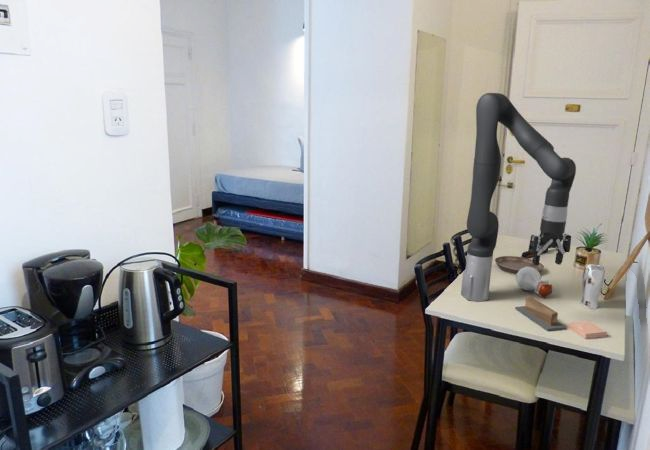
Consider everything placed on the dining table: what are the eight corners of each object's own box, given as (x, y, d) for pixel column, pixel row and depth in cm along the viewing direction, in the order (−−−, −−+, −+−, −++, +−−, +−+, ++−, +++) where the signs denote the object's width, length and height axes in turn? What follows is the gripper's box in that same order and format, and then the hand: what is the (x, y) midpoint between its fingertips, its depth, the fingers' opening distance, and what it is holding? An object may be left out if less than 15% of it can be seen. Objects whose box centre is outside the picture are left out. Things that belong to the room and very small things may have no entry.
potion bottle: (519, 287, 205) (545, 305, 192) (506, 276, 201) (531, 294, 187) (534, 269, 204) (560, 286, 191) (520, 258, 200) (547, 275, 186)
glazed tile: (567, 328, 166) (585, 340, 159) (568, 323, 166) (586, 333, 158) (587, 326, 168) (606, 337, 161) (588, 321, 168) (607, 331, 160)
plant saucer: (532, 262, 233) (533, 256, 232) (551, 278, 213) (552, 271, 212) (488, 261, 233) (489, 254, 233) (502, 277, 213) (503, 269, 213)
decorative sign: (551, 249, 255) (554, 230, 253) (555, 250, 253) (558, 231, 251) (521, 258, 239) (523, 238, 237) (525, 259, 238) (528, 239, 235)
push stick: (550, 325, 165) (552, 313, 164) (524, 308, 179) (526, 297, 178) (556, 325, 166) (557, 313, 165) (530, 308, 179) (531, 296, 178)
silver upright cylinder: (580, 300, 190) (586, 262, 186) (601, 305, 186) (607, 266, 182) (576, 305, 185) (582, 267, 181) (597, 310, 180) (603, 271, 177)
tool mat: (547, 331, 163) (547, 328, 163) (515, 308, 180) (515, 306, 180) (565, 329, 165) (566, 327, 165) (532, 307, 182) (532, 305, 182)
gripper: (542, 221, 160) (535, 269, 165) (580, 220, 164) (572, 267, 168) (528, 216, 168) (521, 261, 172) (565, 215, 171) (558, 260, 175)
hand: (546, 264), depth 170 cm, fingers open, 8 cm apart
